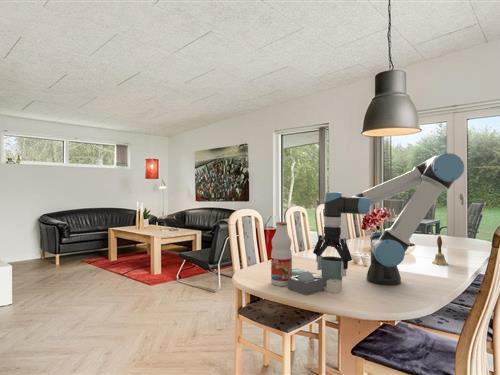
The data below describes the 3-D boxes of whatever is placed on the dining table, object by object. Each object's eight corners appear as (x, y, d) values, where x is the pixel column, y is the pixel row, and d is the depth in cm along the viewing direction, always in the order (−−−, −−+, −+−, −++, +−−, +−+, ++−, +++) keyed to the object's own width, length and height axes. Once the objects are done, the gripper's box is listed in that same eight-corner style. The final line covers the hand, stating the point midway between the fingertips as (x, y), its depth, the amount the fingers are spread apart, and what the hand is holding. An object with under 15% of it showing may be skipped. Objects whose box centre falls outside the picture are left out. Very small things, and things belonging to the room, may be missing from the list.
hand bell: (432, 264, 198) (432, 236, 198) (431, 261, 206) (431, 235, 206) (449, 265, 195) (449, 237, 195) (446, 263, 203) (447, 235, 203)
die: (340, 290, 147) (340, 280, 147) (336, 293, 144) (336, 282, 144) (331, 288, 150) (331, 278, 150) (326, 291, 146) (326, 280, 146)
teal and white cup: (320, 281, 162) (320, 255, 162) (342, 282, 160) (342, 256, 160) (321, 287, 152) (321, 260, 152) (345, 288, 150) (345, 261, 150)
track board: (332, 280, 164) (332, 277, 164) (314, 284, 156) (314, 282, 156) (296, 270, 184) (296, 267, 184) (277, 273, 176) (277, 271, 176)
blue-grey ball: (317, 288, 148) (317, 271, 148) (306, 291, 144) (306, 273, 144) (305, 284, 154) (305, 268, 154) (294, 287, 149) (294, 270, 149)
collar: (324, 290, 148) (324, 278, 148) (306, 295, 141) (306, 283, 141) (305, 284, 156) (305, 273, 156) (287, 288, 150) (287, 277, 150)
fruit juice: (296, 283, 158) (296, 222, 157) (282, 288, 151) (282, 224, 151) (280, 279, 165) (280, 220, 164) (266, 283, 158) (266, 222, 158)
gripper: (361, 228, 148) (359, 277, 149) (317, 222, 168) (316, 266, 168) (350, 229, 144) (349, 280, 144) (306, 223, 164) (305, 268, 164)
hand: (331, 273), depth 156 cm, fingers open, 13 cm apart
